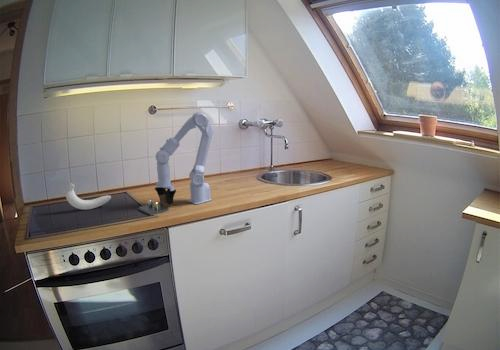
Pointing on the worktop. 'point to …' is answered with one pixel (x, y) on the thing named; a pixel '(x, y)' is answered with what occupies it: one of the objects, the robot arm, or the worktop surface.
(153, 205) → the pin plate
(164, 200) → the hollow block
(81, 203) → the banana
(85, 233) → the worktop surface
